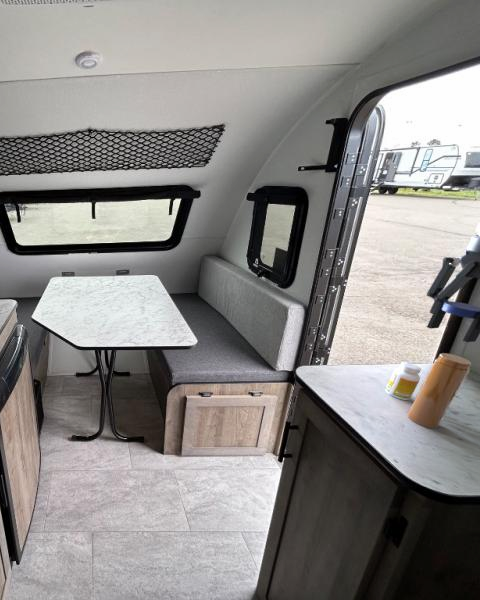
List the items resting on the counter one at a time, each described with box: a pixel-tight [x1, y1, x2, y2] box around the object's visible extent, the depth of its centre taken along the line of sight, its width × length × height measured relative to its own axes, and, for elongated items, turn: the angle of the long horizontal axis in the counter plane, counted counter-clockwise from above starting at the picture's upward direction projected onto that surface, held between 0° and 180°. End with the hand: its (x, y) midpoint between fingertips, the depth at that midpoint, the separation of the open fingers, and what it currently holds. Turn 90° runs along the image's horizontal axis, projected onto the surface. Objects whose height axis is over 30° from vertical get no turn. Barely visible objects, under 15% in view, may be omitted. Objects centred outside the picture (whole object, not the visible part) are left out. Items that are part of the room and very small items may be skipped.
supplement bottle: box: [385, 361, 422, 401], centre depth 92 cm, size 5×5×10 cm
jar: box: [406, 352, 472, 429], centre depth 80 cm, size 6×6×18 cm
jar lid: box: [442, 300, 480, 320], centre depth 74 cm, size 6×6×2 cm
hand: (449, 333), depth 77 cm, fingers closed on jar lid, 6 cm apart
